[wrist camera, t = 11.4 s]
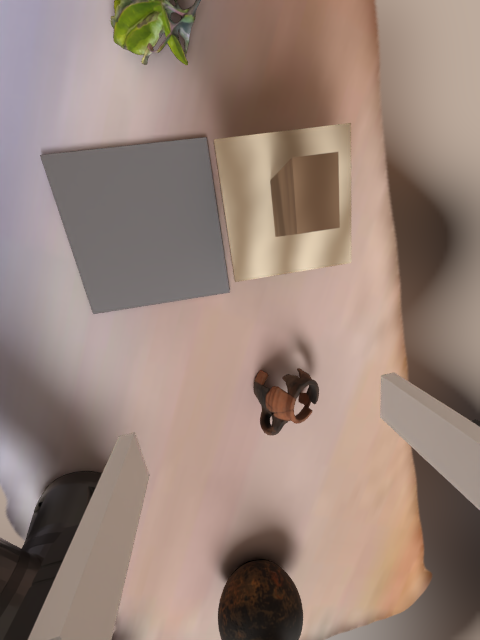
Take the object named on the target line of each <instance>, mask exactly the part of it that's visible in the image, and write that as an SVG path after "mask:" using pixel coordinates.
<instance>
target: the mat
mask: <svg viewBox="0 0 480 640" xmlns="http://www.w3.org/2000/svg"><path fill="white" fill-rule="evenodd" d="M40 157H41V160H42V162H43V165H44V168H45V171H46V174H47V177H48V180H49V183H50V186H51V189H52V192H53V195H54V198H55V201H56V204H57V207H58V210H59V213H60V216H61V219H62V222H63V225H64V228H65V231H66V234H67V237H68V240H69V243H70V246H71V249H72V252H73V255H74V258H75V261H76V264H77V267H78V270H79V273H80V276H81V279H82V282H83V285H84V288H85V291H86V294H87V297H88V300H89V303H90V306H91V309H92V312H93V314H97V313H104V312H110V311H116V310H122V309H129V308H135V307H141V306H148V305H154V304H160V303H167V302H173V301H179V300H185V299H192V298H198V297H204V296H211V295H217V294H223V293H230V291H229V284H228V277H227V271H226V264H225V258H224V251H223V244H222V238H221V231H220V224H219V218H218V211H217V204H216V198H215V191H214V184H213V178H212V171H211V165H210V158H209V151H208V145H207V138H206V137H204V138H194V139H185V140H176V141H166V142H157V143H148V144H139V145H129V146H120V147H111V148H101V149H92V150H83V151H74V152H64V153H55V154H46V155H40Z"/></svg>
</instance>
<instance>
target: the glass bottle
mask: <svg viewBox="0 0 480 640" xmlns="http://www.w3.org/2000/svg"><path fill="white" fill-rule="evenodd" d="M218 625H219V632H220V636H221V639H222V640H299V637H300V635H301V631H302V625H303V610H302V603H301V599H300V596H299V593H298V590H297V588H296V586H295V584H294V582H293V581H292V579H291V578H290V577H289V575H288V574H287V573H286V572H285V571H284V570H283V569H282V568H281V567H279V566H278V565H277V564H275V563H273V562H270V561H267V560H255V561H251V562H248V563H246V564H244V565H242V566H241V567H239V568H238V569H237V570H236V571H235V572H234V573H233V574H232V575H231V576H230V578H229V579H228V581H227V583H226V585H225V587H224V589H223V592H222V595H221V598H220V603H219V609H218Z"/></svg>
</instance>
